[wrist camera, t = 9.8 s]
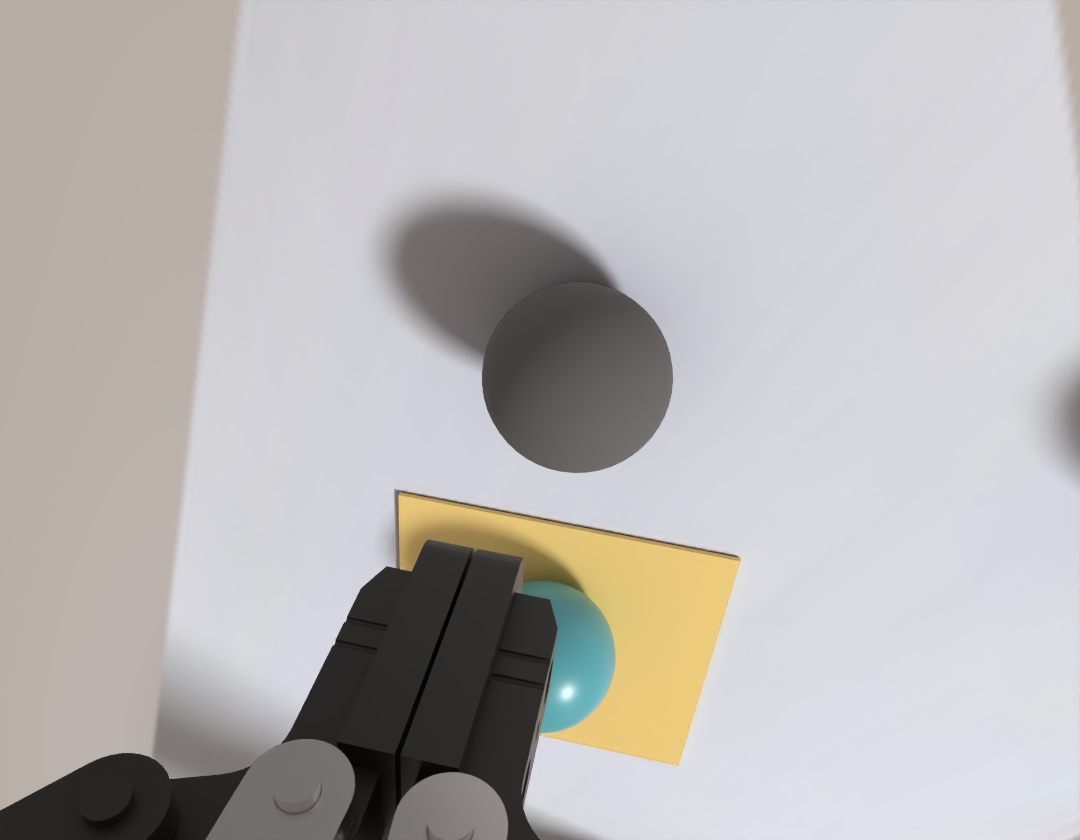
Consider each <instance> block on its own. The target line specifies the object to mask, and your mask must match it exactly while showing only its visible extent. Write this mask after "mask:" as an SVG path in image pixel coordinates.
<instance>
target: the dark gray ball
mask: <svg viewBox="0 0 1080 840" xmlns="http://www.w3.org/2000/svg"><path fill="white" fill-rule="evenodd" d="M672 384H673V373H672V363H671V357H670V352H669V349H668V346H667V343H666V341H665V338H664V336H663V334H662V332H661V330H660V329H659V327H658V326H657V324H656V323H655V321H654V320H653V319H652V317H651V316H650V315H649V314H648V313H647V312H646V311H645V310H644V309H643V308H642V307H641V306H640V305H639V304H638V303H636V302H635V301H634V300H632V299H631V298H629V297H628V296H626V295H625V294H623V293H621V292H619V291H617V290H615V289H612V288H609V287H606V286H603V285H599V284H594V283H586V282H568V283H562V284H556V285H552V286H549V287H546V288H543V289H541V290H539V291H536V292H534V293H532V294H531V295H529V296H527V297H526V298H524V299H522V300H521V301H520V302H519V303H517V304H516V305H515V306H514V307H513V308H512V309H511V310H510V311H509V312H508V313H507V314H506V315H505V316H504V317H503V319H502V320H501V321H500V323H499V324H498V325H497V327H496V329H495V331H494V332H493V334H492V336H491V338H490V341H489V343H488V346H487V349H486V353H485V357H484V362H483V370H482V387H483V394H484V399H485V403H486V406H487V410H488V412H489V414H490V417H491V419H492V421H493V423H494V424H495V426H496V428H497V429H498V431H499V433H500V434H501V435H502V436H503V438H504V439H505V440H506V441H507V443H508V444H509V445H511V446H512V447H513V448H514V449H515V450H516V451H517V452H518V453H520V454H521V455H522V456H524V457H525V458H527V459H529V460H530V461H532V462H534V463H536V464H538V465H541V466H543V467H546V468H548V469H553V470H557V471H561V472H571V473H583V472H592V471H598V470H602V469H605V468H608V467H611V466H614V465H616V464H618V463H620V462H622V461H624V460H626V459H627V458H629V457H630V456H632V455H633V454H635V453H636V452H637V451H638V450H639V449H641V448H642V447H643V446H644V445H645V444H646V443H647V442H648V441H649V440H650V439H651V437H652V436H653V435H654V433H655V432H656V430H657V429H658V428H659V426H660V424H661V422H662V420H663V418H664V417H665V414H666V411H667V409H668V406H669V402H670V398H671V393H672Z"/></svg>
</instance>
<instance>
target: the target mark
mask: <svg viewBox="0 0 1080 840" xmlns="http://www.w3.org/2000/svg"><path fill="white" fill-rule="evenodd" d="M398 501H399V555H400V569H402V570H407V571H412V570H413V567H414V565H415V563H416V561H417V558H418V556H419V554H420V552H421V549H422V547H423V545H424V543H425V542H426V541H427V540H428V539H430V540H435V541H440V542H445V543H450V544H455V545H460V546H465V547H470V548H474V549H475V551H476V550H477V549H481V550H486V551H491V552H496V553H501V554H506V555H511V556H516V557H521V558H524V573H523V583H524V582H529V581H537V580H547V581H555V582H559V583H563V584H566V585H568V586H571V587H573V588H575V589H577V590H579V591H580V592H582V593H583V594H585V595H586V596H587V597H589V598H590V599H591V600H592V601H593V602H594V603H595V604H596V605H597V607H598V608H599V609H600V610H601V612H602V613H603V615H604V616H605V618H606V620H607V622H608V624H609V626H610V629H611V632H612V635H613V638H614V644H615V650H616V663H615V671H614V675H613V679H612V682H611V685H610V688H609V690H608V692H607V694H606V696H605V698H604V699H603V701H602V702H601V703H600V705H599V706H598V707H597V708H596V709H595V711H594V712H593V713H592V714H590V715H589V716H588V717H587V718H585V719H584V720H583V721H581V722H580V723H578V724H577V725H575V726H573V727H570V728H568V729H566V730H562V731H559V732H553V733H540V735H541V736H545V737H550V738H554V739H559V740H563V741H568V742H572V743H577V744H581V745H586V746H590V747H595V748H599V749H604V750H609V751H613V752H618V753H622V754H627V755H631V756H636V757H640V758H645V759H649V760H654V761H658V762H663V763H667V764H672V765H676V766H678V765H679V762H680V759H681V756H682V752H683V749H684V746H685V742H686V739H687V736H688V732H689V729H690V726H691V723H692V719H693V716H694V713H695V709H696V706H697V703H698V699H699V696H700V693H701V690H702V686H703V683H704V680H705V676H706V673H707V670H708V666H709V663H710V660H711V657H712V653H713V650H714V647H715V643H716V640H717V637H718V633H719V630H720V627H721V624H722V620H723V617H724V614H725V610H726V607H727V604H728V600H729V597H730V594H731V591H732V587H733V584H734V581H735V577H736V574H737V571H738V567H739V564H740V558H738V557H733V556H728V555H723V554H718V553H712V552H707V551H702V550H697V549H692V548H687V547H681V546H676V545H671V544H666V543H661V542H655V541H650V540H645V539H640V538H635V537H630V536H624V535H619V534H614V533H609V532H604V531H599V530H593V529H588V528H583V527H578V526H573V525H568V524H562V523H557V522H552V521H547V520H542V519H537V518H531V517H526V516H521V515H516V514H511V513H506V512H500V511H495V510H490V509H485V508H480V507H475V506H469V505H464V504H459V503H454V502H449V501H444V500H438V499H433V498H428V497H423V496H418V495H413V494H407V493H402V492H400V493H399V495H398Z"/></svg>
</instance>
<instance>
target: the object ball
mask: <svg viewBox="0 0 1080 840" xmlns="http://www.w3.org/2000/svg"><path fill="white" fill-rule="evenodd" d="M522 594H526V595H531V596H536V597H541V598H546V599H550V601H551V604H552V608H553V612H554V616H555V620H556V624H557V628H558V632H557V639H556V646H555V653H554V660H553V667H552V675H551V682H550V689H549V695H548V699H547V704H546V708H545V713H544V717H543V721H542V725H541V730H540V733H553V732H559V731H562V730H566V729H568V728H570V727H573V726H575V725H577V724H578V723H580V722H581V721H583V720H584V719H585V718H587V717H588V716H589V715H590V714H592V713H593V712H594V711H595V709H596V708H597V707H598V706H599V705H600V703H601V702H602V701H603V699H604V698H605V696H606V694H607V692H608V690H609V688H610V685H611V682H612V679H613V675H614V671H615V663H616V650H615V644H614V638H613V635H612V632H611V629H610V626H609V624H608V622H607V620H606V618H605V616H604V615H603V613H602V612H601V610H600V609H599V608H598V607H597V605H596V604H595V603H594V602H593V601H592V600H591V599H590V598H589V597H587V596H586V595H585V594H583V593H582V592H580V591H579V590H577V589H575V588H573V587H571V586H568V585H566V584H563V583H559V582H555V581H547V580H537V581H529V582H524V583H522Z"/></svg>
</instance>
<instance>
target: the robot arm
mask: <svg viewBox="0 0 1080 840" xmlns="http://www.w3.org/2000/svg"><path fill="white" fill-rule="evenodd" d="M523 573H524V558H521V557H516V556H511V555H506V554H501V553H496V552H491V551H486V550H481V549H477V550H476V551H475V549H474V548H470V547H465V546H460V545H455V544H450V543H445V542H440V541H435V540H430V539H428V540H427V541H426V542H425V543H424V545H423V547H422V549H421V552H420V554H419V556H418V558H417V561H416V563H415V565H414V567H413V570H412V571H407V570H402V569H397V568H392V567H387V566H386V567H385V568H384V569H383V570H382V571H381V572H380V573H378V574H377V575H376V576H375V577H374V578H373V579H371V580H370V581H369V582H368V583H367V584H366V585H364V586H363V587H362V588H361V590H360V592H359V594H358V596H357V598H356V600H355V602H354V604H353V606H352V608H351V610H350V612H349V614H348V616H347V620H346V622H344V624H343V626H342V628H341V630H340V632H339V634H338V636H337V638H336V642H335V645H334V646H332V648H331V650H330V652H329V654H328V656H327V658H326V660H325V662H324V664H323V666H322V668H321V670H320V672H319V674H318V676H317V678H316V681H315V683H314V685H313V687H312V689H311V691H310V693H309V695H308V697H307V699H306V701H305V703H304V705H303V707H302V709H301V711H300V713H299V715H298V717H297V719H296V721H295V723H294V725H293V727H292V729H291V731H290V732H289V734H288V736H287V737H286V738H285V740H284V741H283V742H282V743H281V744H280V745H278V746H275V747H274V748H272V749H270V750H268V751H267V752H266V753H264V754H263V755H262V756H260V757H259V758H258V759H257V760H256V761H255V762H254V763H253V764H252V766H250V767H247V768H245V769H243V770H239V771H236V772H232V773H227V774H221V775H211V776H200V777H189V778H178V779H169V776H168V774H167V772H166V770H165V769H164V768H163V766H162V765H160V764H159V763H158V762H157V761H156V760H154V759H152V758H150V757H147V756H144V755H140V754H133V753H121V754H115V755H109V756H107V757H103V758H100V759H98V760H95V761H93V762H91V763H89V764H87V765H85V766H83V767H81V768H79V769H77V770H76V771H74V772H72V773H70V774H68V775H66V776H64V777H62V778H61V779H59V780H57V781H55V782H53V783H51V784H49V785H47V786H45V787H44V788H42V789H40V790H38V791H36V792H34V793H32V794H31V795H29V796H27V797H25V798H23V799H21V800H19V801H17V802H15V803H14V804H12V805H10V806H8V807H6V808H4V809H2V810H0V840H540V839H539V838H538V837H537V835H536V834H535V833H534V831H533V830H532V828H531V827H530V825H529V823H528V821H527V818H526V816H525V813H524V810H523V806H524V802H525V797H526V793H527V788H528V784H529V779H530V775H531V771H532V766H533V762H534V757H535V752H536V748H537V744H538V739H539V735H540V730H541V725H542V721H543V717H544V713H545V708H546V704H547V699H548V695H549V689H550V682H551V675H552V667H553V660H554V653H555V646H556V639H557V632H558V628H557V624H556V620H555V616H554V612H553V608H552V604H551V601H550V599H546V598H541V597H536V596H531V595H526V594H522V583H523Z"/></svg>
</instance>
